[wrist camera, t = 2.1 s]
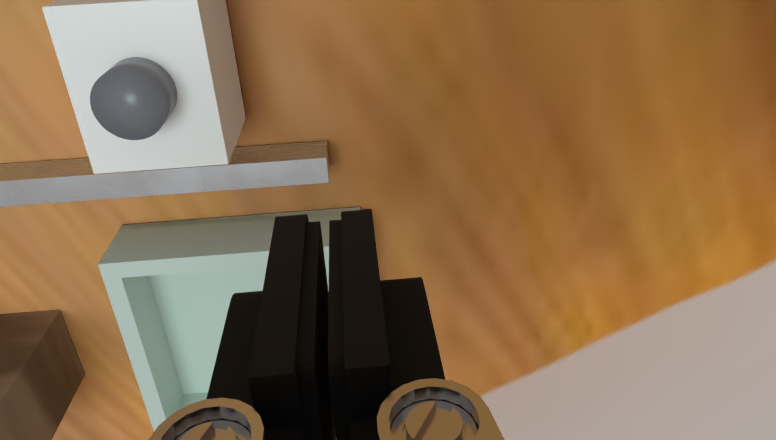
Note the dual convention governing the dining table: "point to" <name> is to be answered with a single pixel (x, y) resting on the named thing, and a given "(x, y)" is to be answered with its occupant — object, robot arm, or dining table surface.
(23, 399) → the stop block
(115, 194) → the piston rail
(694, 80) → the dining table surface
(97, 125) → the block
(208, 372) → the tray
